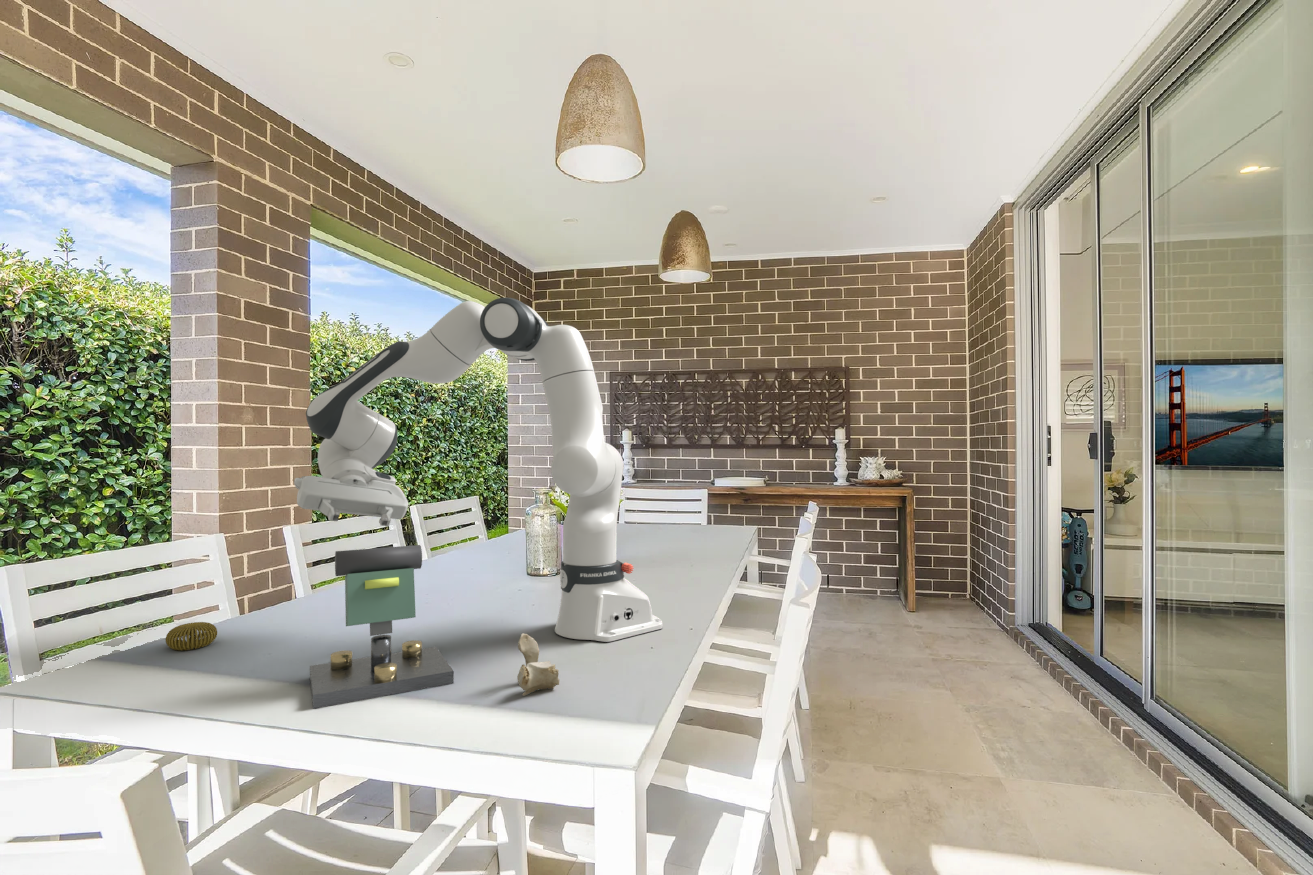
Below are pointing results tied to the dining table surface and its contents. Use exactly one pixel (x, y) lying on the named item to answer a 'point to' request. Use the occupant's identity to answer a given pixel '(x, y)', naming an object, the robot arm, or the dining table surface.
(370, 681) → the plate
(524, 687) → the bone
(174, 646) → the sculpture
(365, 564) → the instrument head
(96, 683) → the dining table surface
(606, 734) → the dining table surface
